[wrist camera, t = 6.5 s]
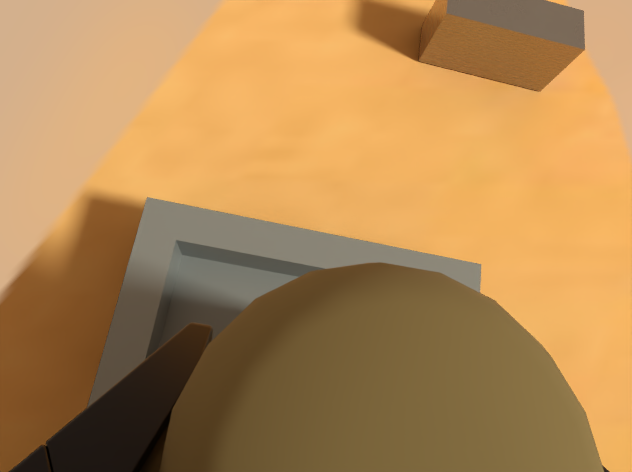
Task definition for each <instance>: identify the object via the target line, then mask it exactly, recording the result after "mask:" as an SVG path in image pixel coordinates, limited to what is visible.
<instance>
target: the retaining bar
mask: <svg viewBox="0 0 632 472" xmlns="http://www.w3.org/2000/svg"><path fill="white" fill-rule="evenodd" d="M584 50H585V39H584V11H583V10H579V9H575V8H572V7H568V6H564V5H560V4H557V3H553V2H549V1H546V0H436V1H435V3H434V4H433V6H432V8H431V10H430V12H429V14H428V16H427V17H426V19H425V21H424V23H423V25H422V30H421V40H420V50H419V59H418V61H419V62H423V63H427V64H431V65H435V66H439V67H443V68H447V69H452V70H456V71H460V72H464V73H468V74H472V75H476V76H480V77H484V78H488V79H492V80H496V81H500V82H504V83H508V84H512V85H516V86H520V87H524V88H528V89H532V90H536V91H541V90H542V89H543V88H544V87H545V86H546V85H547V84H549V83H550V82H551V81H552V80H553V79H554V78H555V77H556V76H557V75H558V74H559V73H560V72H561V71H562V70H564V69H565V68H566V67H567V66H568V65H569V64H570V63H571V62H572V61H573V60H574V59H575V58H576V57H577V56H578V55H580V54H581V53H582V52H583V51H584Z"/></svg>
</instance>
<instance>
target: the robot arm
mask: <svg viewBox="0 0 632 472" xmlns="http://www.w3.org/2000/svg"><path fill="white" fill-rule="evenodd" d="M212 335H213V327H212V326H211V325H206V324H200V323H195V322H191V323H189V324H188V325H186V326H185V327H184V328H183V329H182V330H180V331H179V332H178V333H177V334H176V335H174V336H173V337H172V338H171V339H170V340H168V341H167V342H166V343H165V344H163V345H162V346H161V347H160V348H159V349H157V350H156V351H155V352H154V353H153V354H151V355H150V356H149V357H148V358H147V359H145V360H144V361H143V362H142V363H141V364H139V365H138V366H137V367H136V368H134V369H133V370H132V371H131V372H130V373H128V374H127V375H126V376H125V377H124V378H122V379H121V380H120V381H119V382H118V383H116V384H115V385H114V386H113V387H111V388H110V389H109V390H108V391H107V392H105V393H104V394H103V395H102V396H101V397H99V398H98V399H97V400H96V401H95V402H93V403H92V404H91V405H90V406H89V407H87V408H86V409H85V410H84V411H82V412H81V413H80V414H79V415H78V416H76V417H75V418H74V419H73V420H72V421H70V422H69V423H68V424H67V425H66V426H64V427H63V428H62V429H61V430H59V431H58V432H57V433H56V434H55V435H53V436H52V437H51V438H50V439H49V440H47V441H46V443H45V445H41V446H40V447H38V448H37V449H36V450H35V451H34V452H32V453H31V454H30V455H29V456H28V457H26V458H25V459H24V460H23V461H22V462H20V463H19V464H18V465H17V466H15V467H14V468H13V469H12V470H10V471H9V472H159V469H160V464H161V459H162V455H163V450H164V445H165V441H166V436H167V431H168V427H169V422H170V417H171V413H172V409H173V407H174V405H175V403H176V402H177V400H178V398H179V396H180V394H181V392H182V391H183V389H184V387H185V385H186V383H187V382H188V380H189V378H190V376H191V374H192V372H193V371H194V369H195V367H196V365H197V363H198V361H199V360H200V358H201V356H202V354H203V352H204V351H205V349H206V347H207V345H208V344H209V343H210V342H211V341H212ZM602 467H603V470H604V472H609V471H608V470H607V469H606V468H605V467H604V466H603V465H602Z"/></svg>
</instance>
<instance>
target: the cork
mask: <svg viewBox="0 0 632 472" xmlns="http://www.w3.org/2000/svg"><path fill="white" fill-rule="evenodd" d="M159 472H604V470H603V467H602V463H601V460H600V457H599V454H598V451H597V447H596V444H595V441H594V438H593V435H592V432H591V428H590V425H589V422H588V419H587V416H586V412H585V411H584V409H583V407H582V406H581V404H580V403H579V401H578V399H577V398H576V396H575V394H574V393H573V391H572V390H571V388H570V386H569V385H568V383H567V381H566V380H565V378H564V377H563V375H562V373H561V372H560V370H559V369H558V367H557V365H556V364H555V362H554V360H553V359H552V357H551V356H550V354H549V353H548V352H547V351H546V350H545V348H544V347H543V346H542V345H541V344H540V343H539V342H538V341H537V340H536V339H535V338H534V337H533V336H532V335H531V334H530V333H529V332H528V331H527V330H526V329H524V328H523V327H522V326H521V325H520V324H519V323H518V322H517V321H516V320H515V319H514V318H513V317H512V316H511V315H510V314H509V313H507V312H506V311H505V310H504V309H503V308H502V307H501V306H500V305H499V304H498V303H497V302H496V301H495V300H493V299H491V298H489V297H487V296H485V295H483V294H481V293H479V292H477V291H475V290H473V289H471V288H469V287H467V286H466V285H464V284H462V283H460V282H458V281H456V280H454V279H452V278H450V277H448V276H446V275H444V274H442V273H440V272H434V271H428V270H422V269H417V268H411V267H405V266H400V265H394V264H388V263H382V262H377V263H364V264H357V265H350V266H343V267H336V268H329V269H322V270H315V271H310V272H308V273H306V274H304V275H302V276H300V277H298V278H296V279H294V280H292V281H290V282H288V283H286V284H284V285H282V286H280V287H278V288H276V289H274V290H272V291H270V292H268V293H266V294H264V295H262V296H260V297H258V298H256V299H255V300H254V301H253V302H251V303H250V304H249V305H248V306H247V307H246V308H245V309H244V310H243V311H242V312H241V313H240V314H239V315H238V316H237V317H236V318H235V319H234V320H233V321H232V322H231V323H230V324H229V325H228V326H227V327H226V328H225V329H224V330H223V331H222V332H221V333H220V334H219V335H217V336H216V337H215V338H214V339H213V340H212V341H211V342H210V343H209V344H208V345H207V347H206V349H205V351H204V352H203V354H202V356H201V358H200V360H199V361H198V363H197V365H196V367H195V369H194V371H193V372H192V374H191V376H190V378H189V380H188V382H187V383H186V385H185V387H184V389H183V391H182V392H181V394H180V396H179V398H178V400H177V402H176V403H175V405H174V407H173V409H172V413H171V417H170V422H169V427H168V431H167V436H166V441H165V445H164V450H163V455H162V459H161V464H160V469H159Z"/></svg>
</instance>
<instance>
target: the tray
mask: <svg viewBox="0 0 632 472" xmlns="http://www.w3.org/2000/svg"><path fill="white" fill-rule="evenodd" d="M377 262H382V263H388V264H394V265H400V266H405V267H411V268H417V269H422V270H428V271H434V272H440V273H442V274H444V275H446V276H448V277H450V278H452V279H454V280H456V281H458V282H460V283H462V284H464V285H466V286H467V287H469V288H471V289H473V290H475V291H477V292H479V293H480V280H481V264H477V263H472V262H467V261H462V260H457V259H452V258H447V257H442V256H437V255H432V254H427V253H422V252H417V251H412V250H407V249H402V248H397V247H392V246H387V245H383V244H378V243H373V242H368V241H363V240H358V239H353V238H348V237H343V236H338V235H333V234H328V233H323V232H318V231H313V230H308V229H303V228H298V227H293V226H288V225H283V224H278V223H273V222H268V221H263V220H258V219H253V218H248V217H243V216H238V215H233V214H228V213H223V212H218V211H213V210H208V209H203V208H198V207H193V206H188V205H183V204H178V203H173V202H168V201H163V200H158V199H153V198H148V197H147V200H146V203H145V206H144V210H143V213H142V217H141V220H140V224H139V227H138V231H137V234H136V238H135V241H134V245H133V248H132V252H131V255H130V259H129V262H128V266H127V269H126V273H125V276H124V280H123V283H122V287H121V290H120V294H119V297H118V301H117V304H116V308H115V311H114V315H113V318H112V322H111V325H110V329H109V332H108V336H107V339H106V343H105V346H104V350H103V353H102V357H101V360H100V364H99V367H98V371H97V374H96V378H95V381H94V385H93V388H92V392H91V395H90V399H89V402H88V406H87V407H89V406H90V405H91V404H92V403H93V402H95V401H96V400H97V399H98V398H99V397H101V396H102V395H103V394H104V393H105V392H107V391H108V390H109V389H110V388H111V387H113V386H114V385H115V384H116V383H118V382H119V381H120V380H121V379H122V378H124V377H125V376H126V375H127V374H128V373H130V372H131V371H132V370H133V369H134V368H136V367H137V366H138V365H139V364H141V363H142V362H143V361H144V360H145V359H147V358H148V357H149V356H150V355H151V354H153V353H154V352H155V351H156V350H157V349H159V348H160V347H161V346H162V345H163V344H165V343H166V342H167V341H168V340H170V339H171V338H172V337H173V336H174V335H176V334H177V333H178V332H179V331H180V330H182V329H183V328H184V327H185V326H186V325H188V324H189V323H191V322H195V323H200V324H206V325H211V326H212V327H213V335H212V340H213V339H214V338H215V337H216V336H217V335H219V334H220V333H221V332H222V331H223V330H224V329H225V328H226V327H227V326H228V325H229V324H230V323H231V322H232V321H233V320H234V319H235V318H236V317H237V316H238V315H239V314H240V313H241V312H242V311H243V310H244V309H245V308H246V307H247V306H248V305H249V304H250V303H251V302H253V301H254V300H255V299H256V298H258V297H260V296H262V295H264V294H266V293H268V292H270V291H272V290H274V289H276V288H278V287H280V286H282V285H284V284H286V283H288V282H290V281H292V280H294V279H296V278H298V277H300V276H302V275H304V274H306V273H308V272H310V271H315V270H322V269H329V268H336V267H343V266H350V265H357V264H364V263H377Z"/></svg>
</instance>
